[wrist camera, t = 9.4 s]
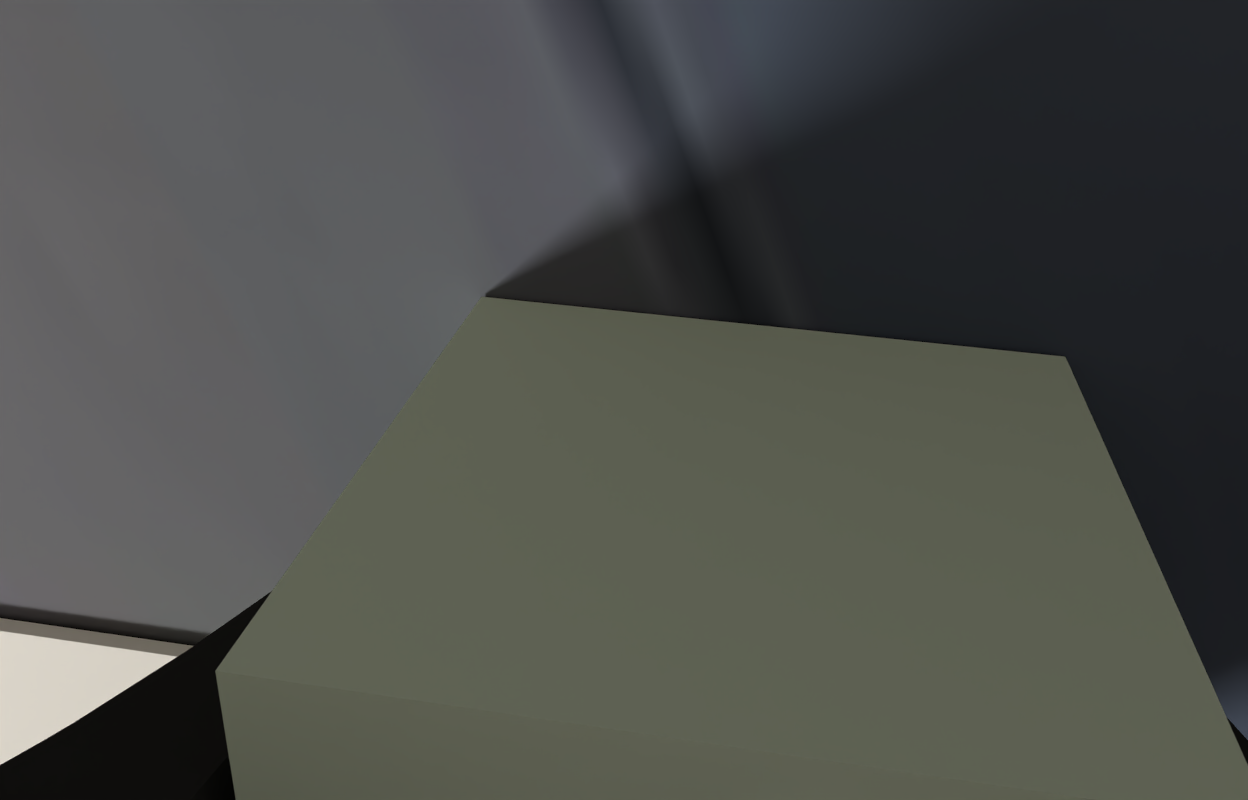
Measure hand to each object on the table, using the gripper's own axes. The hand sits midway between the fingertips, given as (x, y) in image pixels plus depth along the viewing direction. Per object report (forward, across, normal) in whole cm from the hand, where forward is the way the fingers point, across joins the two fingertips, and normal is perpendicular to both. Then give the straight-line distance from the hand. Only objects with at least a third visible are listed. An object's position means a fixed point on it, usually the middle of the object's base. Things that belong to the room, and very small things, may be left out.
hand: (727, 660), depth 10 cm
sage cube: (+1, 0, 0) cm, 1 cm away
